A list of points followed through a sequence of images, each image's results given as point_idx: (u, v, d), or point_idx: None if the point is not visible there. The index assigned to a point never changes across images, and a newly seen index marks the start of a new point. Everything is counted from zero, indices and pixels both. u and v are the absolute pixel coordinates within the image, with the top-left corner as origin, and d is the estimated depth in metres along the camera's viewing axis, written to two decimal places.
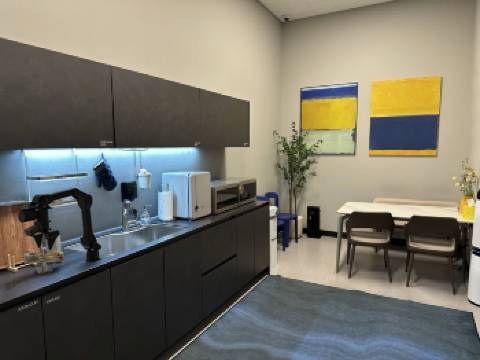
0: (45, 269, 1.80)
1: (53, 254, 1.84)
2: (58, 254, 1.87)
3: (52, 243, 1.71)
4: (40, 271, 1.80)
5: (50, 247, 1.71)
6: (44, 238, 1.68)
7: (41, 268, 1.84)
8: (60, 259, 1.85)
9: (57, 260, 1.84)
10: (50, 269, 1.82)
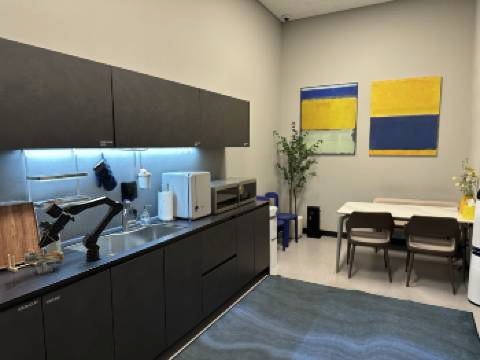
0: (45, 269, 1.80)
1: (53, 254, 1.84)
2: (58, 254, 1.87)
3: (46, 244, 1.80)
4: (40, 271, 1.80)
5: (42, 245, 1.79)
6: (44, 234, 1.80)
7: (41, 268, 1.84)
8: (60, 259, 1.85)
9: (57, 260, 1.84)
10: (50, 269, 1.82)
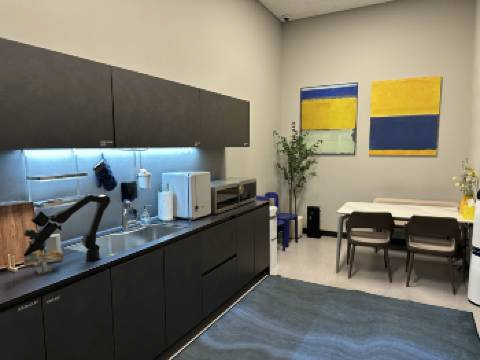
0: (45, 269, 1.80)
1: (52, 253, 1.84)
2: (57, 253, 1.86)
3: (30, 252, 1.78)
4: (40, 271, 1.80)
5: (26, 253, 1.77)
6: (29, 242, 1.78)
7: (41, 268, 1.84)
8: (60, 258, 1.85)
9: (57, 259, 1.84)
10: (50, 269, 1.82)
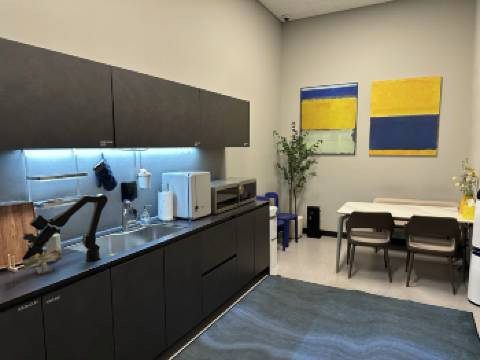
0: (45, 269, 1.80)
1: None
2: None
3: (29, 255, 1.78)
4: (40, 271, 1.80)
5: (24, 257, 1.77)
6: (28, 246, 1.78)
7: (41, 268, 1.84)
8: (59, 255, 1.84)
9: (56, 257, 1.84)
10: (50, 269, 1.82)
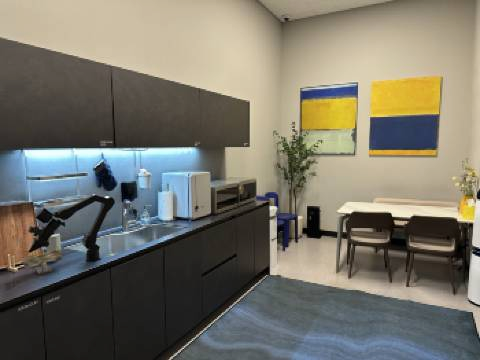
0: (45, 269, 1.80)
1: (32, 257, 1.78)
2: None
3: (35, 248, 1.79)
4: (40, 271, 1.80)
5: (31, 250, 1.78)
6: (34, 239, 1.79)
7: (41, 268, 1.84)
8: (59, 255, 1.84)
9: (56, 257, 1.84)
10: (50, 269, 1.82)
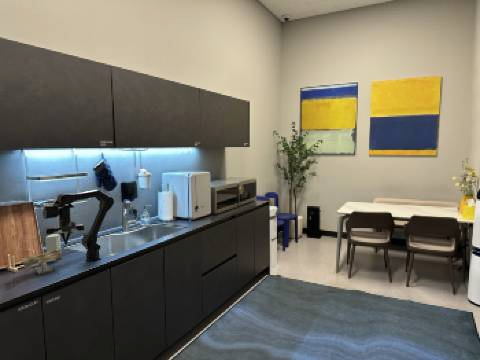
0: (45, 269, 1.80)
1: (32, 257, 1.78)
2: None
3: None
4: (40, 271, 1.80)
5: (67, 241, 1.87)
6: (67, 233, 1.85)
7: (41, 268, 1.84)
8: (59, 255, 1.84)
9: (56, 257, 1.84)
10: (50, 269, 1.82)
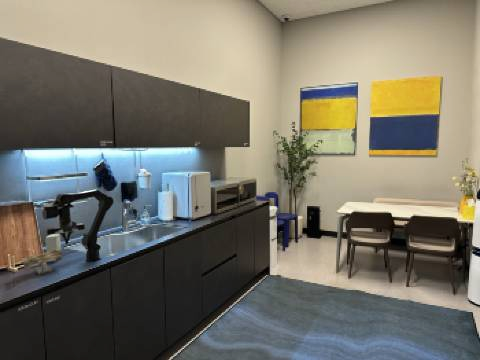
0: (45, 269, 1.80)
1: (32, 257, 1.78)
2: None
3: None
4: (40, 271, 1.80)
5: None
6: (68, 233, 1.85)
7: (41, 268, 1.84)
8: (59, 255, 1.84)
9: (56, 257, 1.84)
10: (50, 269, 1.82)
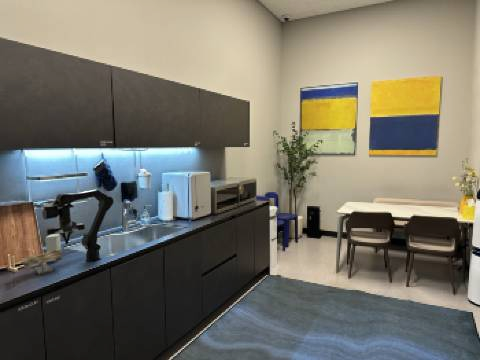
0: (45, 269, 1.80)
1: (32, 257, 1.78)
2: None
3: None
4: (40, 271, 1.80)
5: None
6: (68, 233, 1.85)
7: (41, 268, 1.84)
8: (59, 255, 1.84)
9: (56, 257, 1.84)
10: (50, 269, 1.82)
